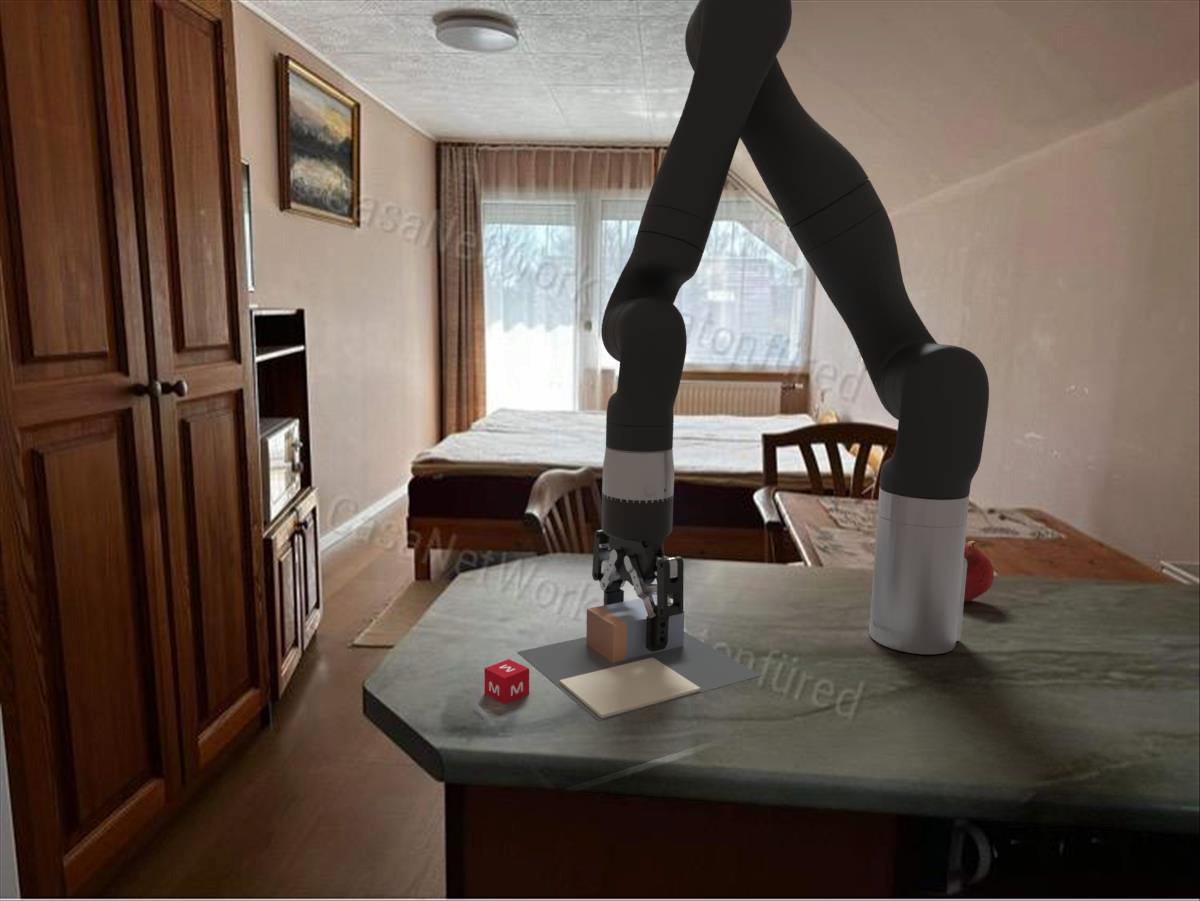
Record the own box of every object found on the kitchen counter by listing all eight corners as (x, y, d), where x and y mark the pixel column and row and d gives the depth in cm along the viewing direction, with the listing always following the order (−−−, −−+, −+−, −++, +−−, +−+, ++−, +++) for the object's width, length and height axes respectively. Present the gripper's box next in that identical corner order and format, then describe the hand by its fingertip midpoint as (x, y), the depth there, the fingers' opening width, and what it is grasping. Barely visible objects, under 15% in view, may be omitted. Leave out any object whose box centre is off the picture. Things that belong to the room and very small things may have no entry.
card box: (654, 629, 93) (655, 595, 92) (683, 646, 88) (684, 610, 87) (586, 644, 88) (586, 608, 87) (613, 662, 83) (613, 625, 83)
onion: (987, 612, 101) (993, 550, 99) (938, 603, 104) (943, 543, 102) (993, 599, 106) (999, 539, 104) (946, 590, 109) (951, 533, 107)
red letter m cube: (484, 697, 76) (484, 668, 76) (509, 687, 79) (508, 658, 78) (504, 709, 74) (504, 678, 74) (529, 698, 77) (529, 668, 76)
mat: (663, 623, 95) (663, 617, 95) (761, 679, 81) (761, 672, 81) (516, 655, 86) (516, 649, 86) (598, 725, 71) (598, 717, 71)
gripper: (708, 499, 81) (701, 652, 84) (631, 474, 93) (627, 609, 96) (646, 507, 77) (641, 667, 80) (574, 480, 89) (572, 619, 92)
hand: (633, 635), depth 88 cm, fingers open, 8 cm apart
